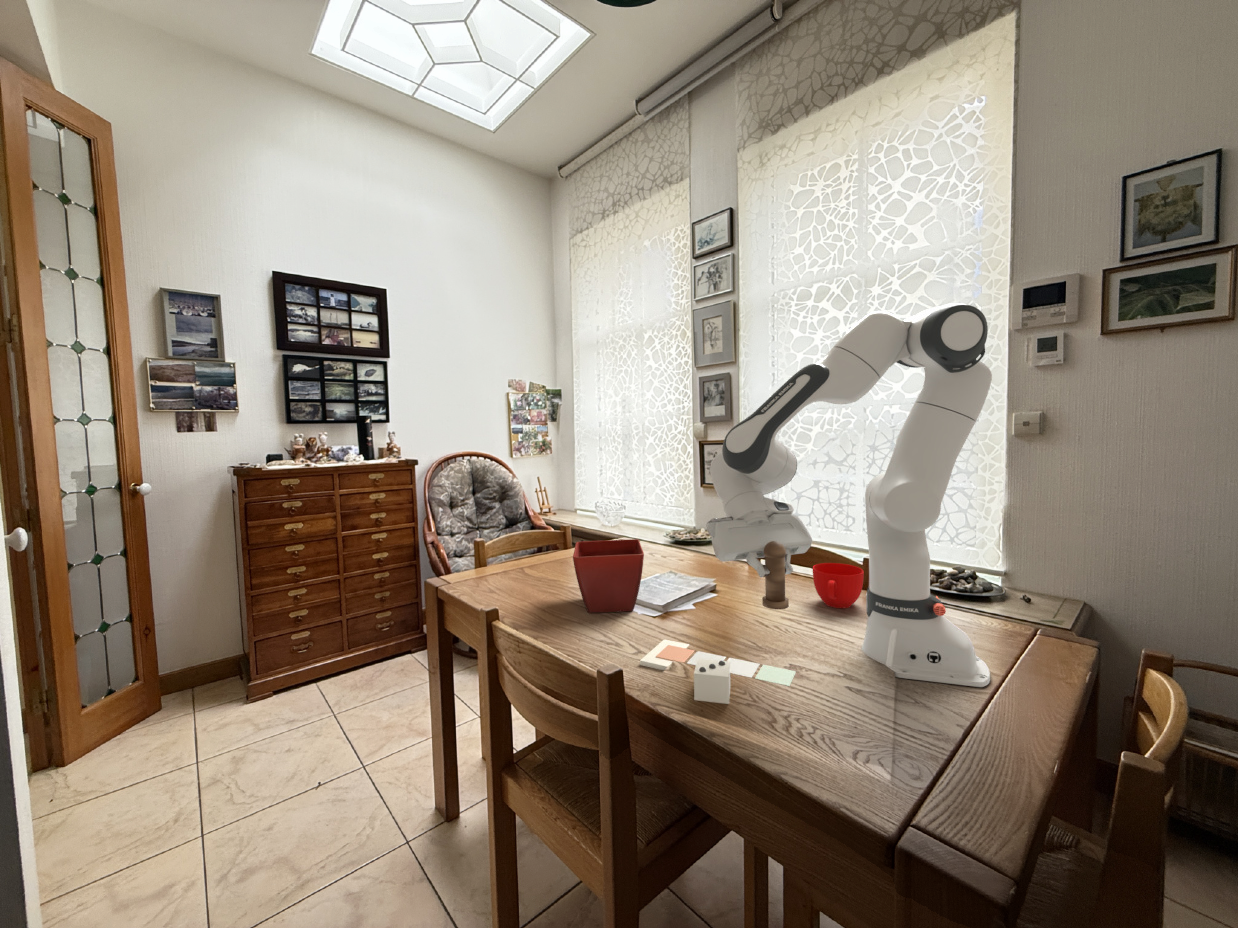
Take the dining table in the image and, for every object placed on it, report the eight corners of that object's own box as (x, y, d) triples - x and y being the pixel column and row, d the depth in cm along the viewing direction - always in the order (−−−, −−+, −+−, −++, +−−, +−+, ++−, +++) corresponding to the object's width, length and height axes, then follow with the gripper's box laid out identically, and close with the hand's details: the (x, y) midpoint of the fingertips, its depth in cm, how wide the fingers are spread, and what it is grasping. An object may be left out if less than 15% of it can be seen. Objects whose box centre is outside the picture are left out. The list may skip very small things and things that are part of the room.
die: (730, 692, 91) (730, 658, 91) (729, 710, 86) (728, 673, 85) (697, 689, 93) (697, 655, 93) (694, 706, 87) (693, 669, 87)
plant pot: (574, 618, 131) (572, 556, 130) (577, 595, 150) (576, 541, 149) (645, 615, 132) (644, 553, 131) (640, 593, 151) (639, 538, 150)
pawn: (790, 602, 95) (790, 539, 95) (785, 610, 91) (784, 544, 91) (765, 599, 98) (764, 537, 97) (759, 607, 94) (758, 542, 93)
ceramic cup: (804, 611, 132) (804, 574, 131) (818, 594, 146) (818, 560, 145) (857, 620, 124) (857, 581, 124) (866, 601, 138) (866, 566, 138)
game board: (810, 673, 98) (810, 667, 98) (799, 702, 87) (799, 695, 87) (664, 643, 114) (664, 638, 114) (640, 664, 103) (640, 659, 103)
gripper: (708, 509, 98) (732, 571, 89) (798, 503, 103) (829, 560, 94) (699, 528, 102) (721, 588, 93) (785, 521, 107) (815, 577, 98)
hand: (776, 574), depth 94 cm, fingers closed on pawn, 4 cm apart
